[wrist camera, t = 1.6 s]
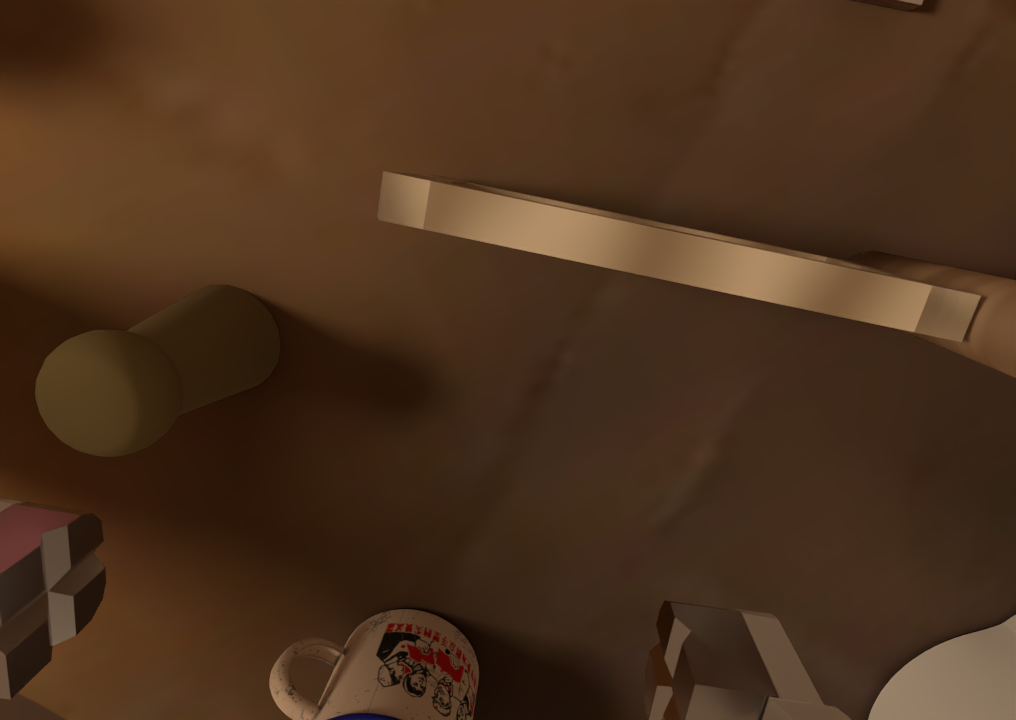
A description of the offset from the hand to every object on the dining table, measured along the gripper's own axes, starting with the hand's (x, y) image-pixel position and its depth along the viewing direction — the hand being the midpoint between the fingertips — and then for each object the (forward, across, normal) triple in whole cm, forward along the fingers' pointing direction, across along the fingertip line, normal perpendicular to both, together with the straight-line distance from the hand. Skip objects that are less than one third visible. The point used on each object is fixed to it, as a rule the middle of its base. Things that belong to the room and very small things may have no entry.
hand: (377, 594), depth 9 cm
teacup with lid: (+24, -4, -24) cm, 34 cm away
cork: (+25, -14, -5) cm, 29 cm away
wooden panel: (+23, +6, +4) cm, 24 cm away
